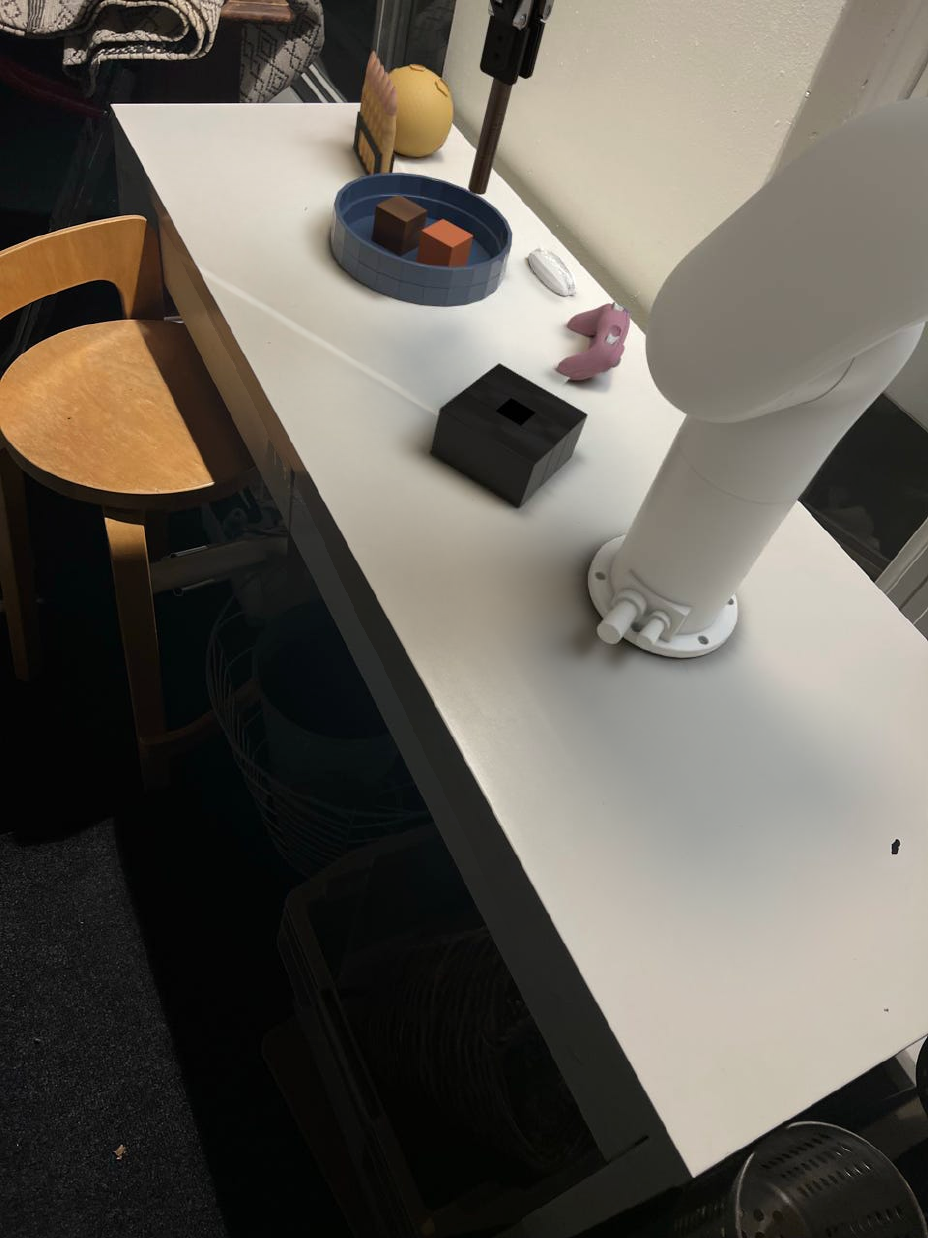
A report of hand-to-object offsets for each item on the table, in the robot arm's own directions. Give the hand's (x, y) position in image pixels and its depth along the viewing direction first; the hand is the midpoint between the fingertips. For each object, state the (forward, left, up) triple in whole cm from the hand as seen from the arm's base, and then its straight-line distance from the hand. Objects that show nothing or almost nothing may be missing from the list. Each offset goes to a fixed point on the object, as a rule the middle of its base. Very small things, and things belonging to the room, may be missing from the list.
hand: (505, 72), depth 71 cm
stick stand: (-9, -13, -26) cm, 30 cm away
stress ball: (+31, +27, -26) cm, 49 cm away
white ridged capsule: (+20, -1, -26) cm, 33 cm away
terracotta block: (+11, +8, -25) cm, 28 cm away
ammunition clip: (+22, +26, -26) cm, 43 cm away
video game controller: (+10, -11, -26) cm, 30 cm away
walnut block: (+11, +14, -25) cm, 31 cm away
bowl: (+11, +11, -26) cm, 30 cm away
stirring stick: (0, 0, -10) cm, 10 cm away
